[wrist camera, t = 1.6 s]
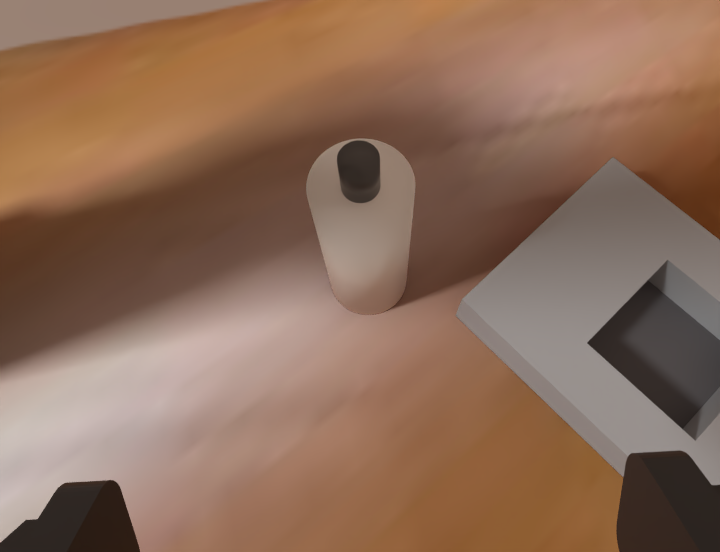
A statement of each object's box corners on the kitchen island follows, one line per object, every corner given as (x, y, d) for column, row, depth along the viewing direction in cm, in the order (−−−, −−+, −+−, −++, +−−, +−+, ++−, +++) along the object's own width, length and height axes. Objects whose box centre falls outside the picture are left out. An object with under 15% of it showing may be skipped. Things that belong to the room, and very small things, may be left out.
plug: (331, 317, 33) (299, 216, 21) (329, 245, 35) (298, 112, 22) (409, 312, 33) (423, 208, 21) (403, 241, 35) (413, 105, 22)
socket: (455, 315, 33) (461, 299, 30) (594, 183, 35) (613, 156, 32) (730, 580, 28) (769, 590, 25) (870, 404, 30) (920, 395, 27)
